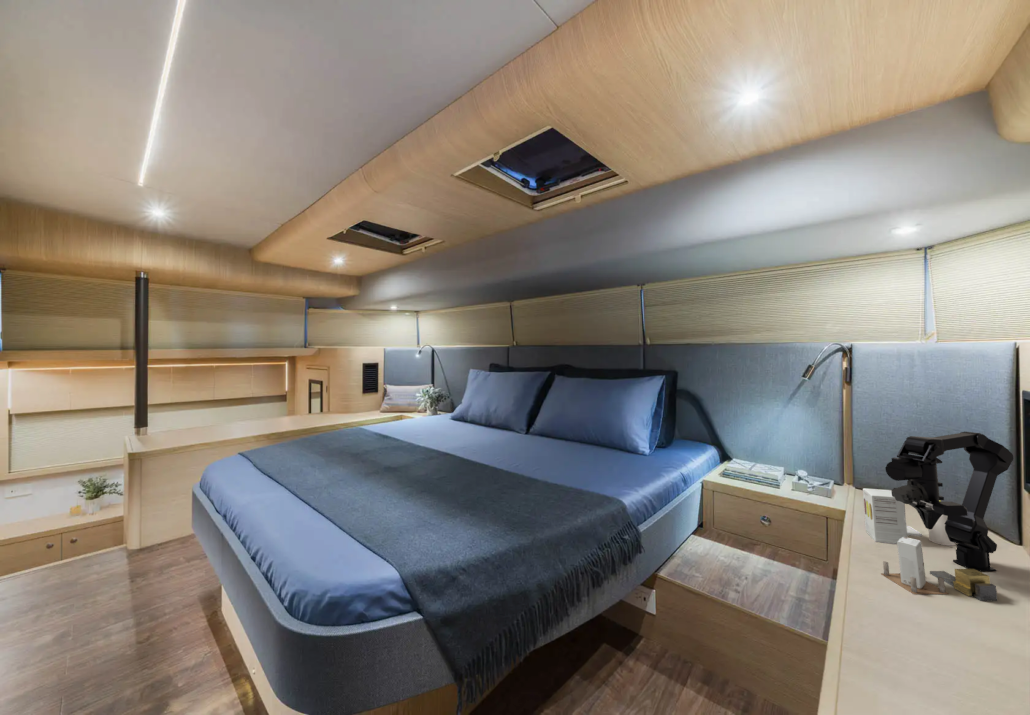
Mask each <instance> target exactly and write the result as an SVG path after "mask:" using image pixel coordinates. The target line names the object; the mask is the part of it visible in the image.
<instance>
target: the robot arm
mask: <svg viewBox="0 0 1030 715" xmlns="http://www.w3.org/2000/svg"><path fill="white" fill-rule="evenodd" d="M904 440H905V441H904V442H903V444H902V445H901V447H900V449H899V451H898V453H897V454H896V457H891V461H890V462H888V463H887V464H886V466H885V468H884V469H885V472H886V474H887V476H888V477H889V478H890V479H892V480H894V481H896V482H897V481H899V482H900V481H906V482H907V483H906V484H905V485H902V486H899V487H893V488H892V489H890V490H891V491H892V496H893V497H895V499H896V501H900V502H903V503H904V504H905V505H909V506H911V507H913V508H914V509H915V510H916V511H917V514H918V515H919V517H920V519H921V521H922V523H923V525H924V527H925V529H927V530H928V529H932V528H933V527H934V525H935V524H936V522H937V521H938V519H939V518H940V517H941V516H942V515H946V516H948V517H947V521H946V522H945V531H946V533H947V535H948V538H949V540H950V541H951V542H954V543H955V545H956V549H955V555H956V557H955V558H956V559H953V560H952V562H954V563H956V564H958V565H960V566H962V567H963V568H964V567H965V569H975V570H977V571H980V572H997V568H994V567H991V561H990V554H994V553H995V552H996V551H997V548H998V547H997V546H998V544H997V543H996V542H995V541H994V540H993V539H992V538H990V536H988V535H989V528H988V526H987V524H986V522H985V519H984V518H985V514H986V511H987V508H988V507H989V506H988V505H989V503H990V501H991V500H990V499H991V497H992V496H991V495H992V493H993V491H994V487H995V484H996V481H997V478H998V477H999V475H1001V474H1003V473H1005V472H1006V471H1009V468H1010V466H1011V465H1012V463H1013V461H1014V454H1013V453H1012V452H1011V451H1010V450H1009V448H1007V447H1005V446H1004V445H1003V444H1001V443H999V442H997V441H995V440H993V439H990V438H989V437H987V436H986V435H985V434H982V433H981V432H973V431H972V432H971V431H961V432H960V433H952V434H946V435H939V436H933V437H931V436H929V437H928V436H919V435H918V436H916V435H914V436H913V435H909V436H907V437H906V438H905V439H904ZM958 449H959V450H960V449H963V450H964V451H965V453H967V454H968V455H969V456H968V457H969V458H968V460H969V462H970V464H971V467H972V468H973V469H972V473H971V476H970V478H969V482H968V484H967V487H966V491H965V495H964V497H963V500H962V503H961V504H960V503H957V502H953V501H945V497H944V495H943V496H942V495H940V489H939V488H941V487H944V484H943V482H939V474H938V465H937V464H942V463H943V460H941V459H940V458H938V457H941V456H943V455H944V454H945V452H946V451H953V450H958ZM939 500H941V502H939Z"/></svg>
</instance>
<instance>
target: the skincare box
mask: <svg viewBox="0 0 1030 715" xmlns="http://www.w3.org/2000/svg"><path fill="white" fill-rule="evenodd" d="M896 546H897V553H898V554H897V555H898V564H899V572H900V575H901V582H902V583H903V584H906V585H909V586H911V582H910V577H914V578H916V583H917V588H919V589H921V588H922V587H923V586H924V585H925V584H926V581H927V579H926V570H925V562H924V552H923V546H922V540H919V539H915V538H910V537H908V536H907V537H902V538H900V539H899V541H897V544H896Z"/></svg>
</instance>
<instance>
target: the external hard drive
mask: <svg viewBox="0 0 1030 715" xmlns="http://www.w3.org/2000/svg"><path fill="white" fill-rule="evenodd" d="M906 527H907V536H913V537H923V534H922V533H921V532H920V531H919V530H917V529H915V528H914V527H912V526H910V525H906Z"/></svg>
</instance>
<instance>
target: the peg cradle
mask: <svg viewBox="0 0 1030 715" xmlns="http://www.w3.org/2000/svg"><path fill="white" fill-rule="evenodd" d="M882 565H883V566H882V568H883V573H880V574H881V575H882V576H883V577H885V578H886V579H889V580H890V581H892V582H893V583H895V584H897V585H898V586H900V587H901V588H903V589H904V590H906V591H908V592H909V593H911V594H912V595H950V594H949V592H947V591H946V586H945V582H944V578H942V577H938V578H937V583H938V584H937V585H938V586H936V585H935V584H932V583H931V582H929V581H927V580H926V584H925V585H924V586H923V587H922V588H921V589H919V588H917V583H916V578H914V577H910V582H911V586H909V585H906V584H903V583H902V582H901V575H900V573H891V572H890V568H889V567H890V566H889V562H888V561H882Z"/></svg>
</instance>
